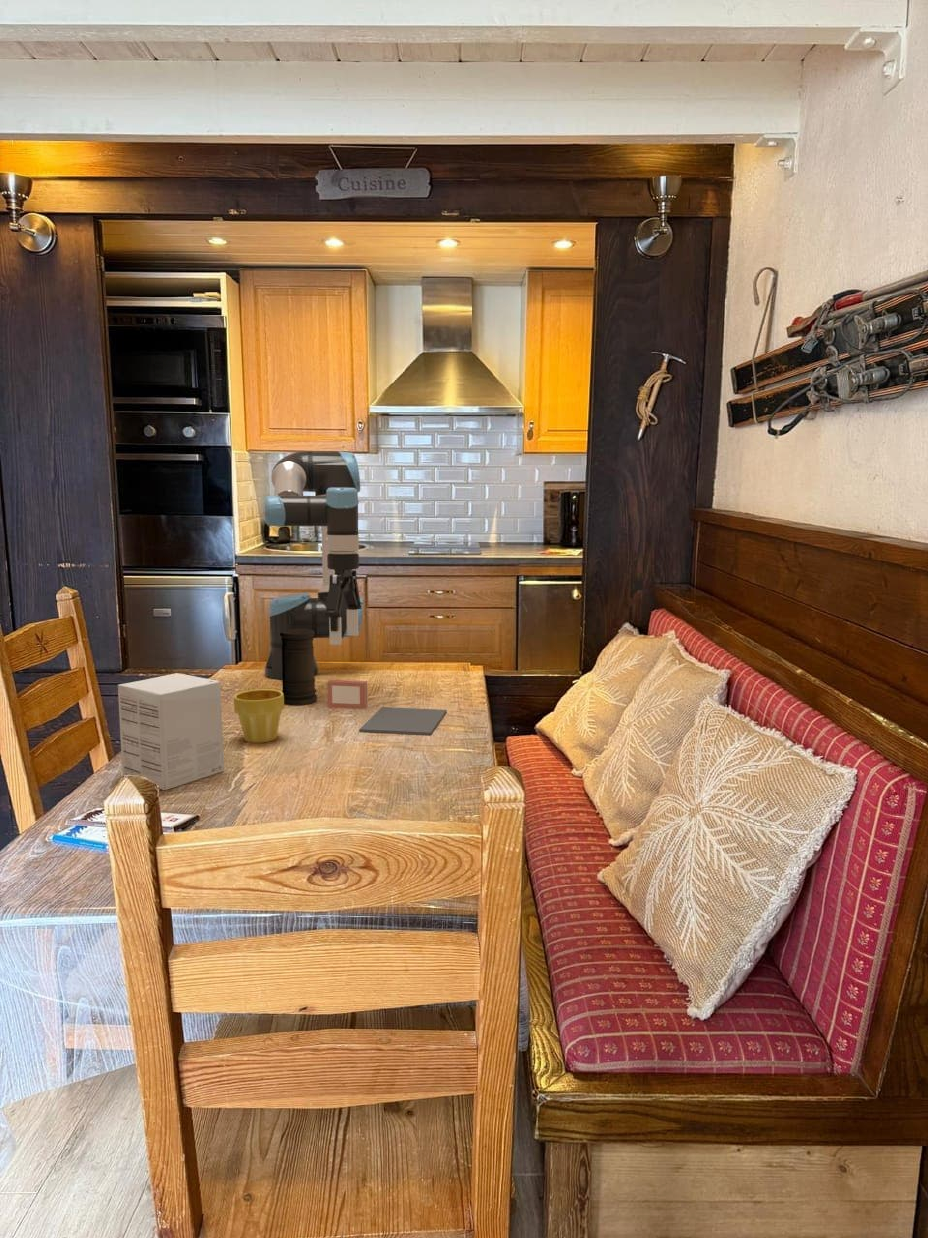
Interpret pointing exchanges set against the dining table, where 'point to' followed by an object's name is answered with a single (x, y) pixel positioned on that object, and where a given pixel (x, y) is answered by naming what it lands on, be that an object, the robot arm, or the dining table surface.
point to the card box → (347, 694)
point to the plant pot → (259, 713)
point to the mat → (404, 721)
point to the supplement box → (171, 729)
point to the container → (298, 667)
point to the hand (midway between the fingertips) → (344, 640)
